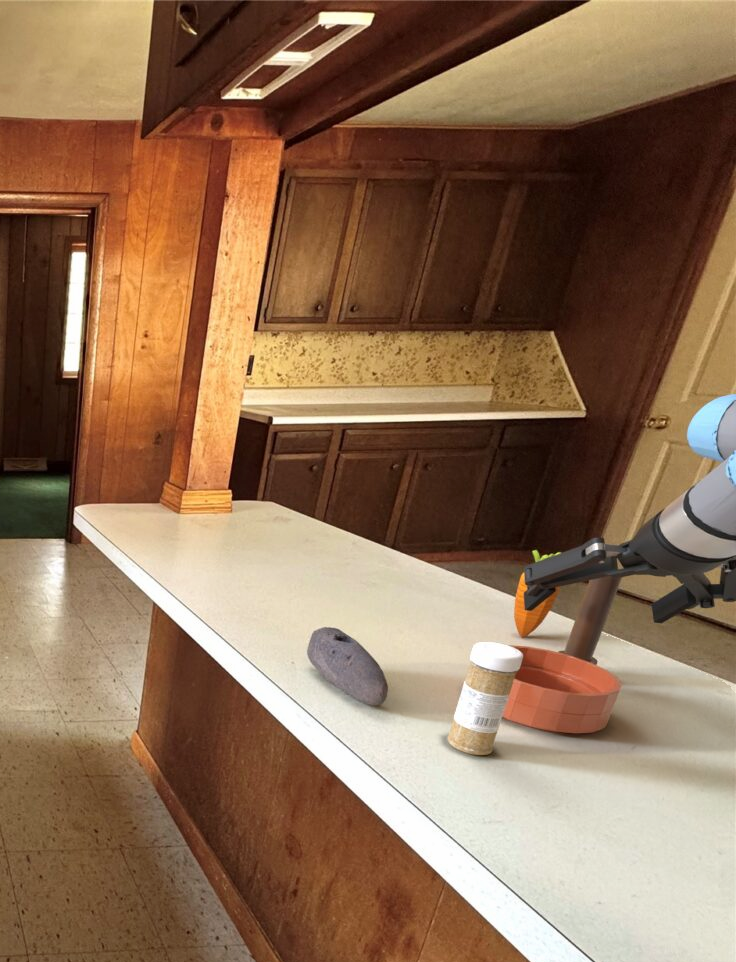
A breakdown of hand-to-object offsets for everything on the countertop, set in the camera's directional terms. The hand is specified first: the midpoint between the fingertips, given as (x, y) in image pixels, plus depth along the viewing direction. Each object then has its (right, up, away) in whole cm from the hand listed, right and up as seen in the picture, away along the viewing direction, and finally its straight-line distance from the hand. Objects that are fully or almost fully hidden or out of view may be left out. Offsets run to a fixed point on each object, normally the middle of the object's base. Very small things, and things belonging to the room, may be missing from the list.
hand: (589, 607), depth 90 cm
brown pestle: (+5, -10, +8) cm, 13 cm away
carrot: (+8, -5, +20) cm, 22 cm away
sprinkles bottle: (-23, -17, -8) cm, 30 cm away
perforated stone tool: (-29, -12, +6) cm, 32 cm away
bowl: (-8, -14, 0) cm, 16 cm away
